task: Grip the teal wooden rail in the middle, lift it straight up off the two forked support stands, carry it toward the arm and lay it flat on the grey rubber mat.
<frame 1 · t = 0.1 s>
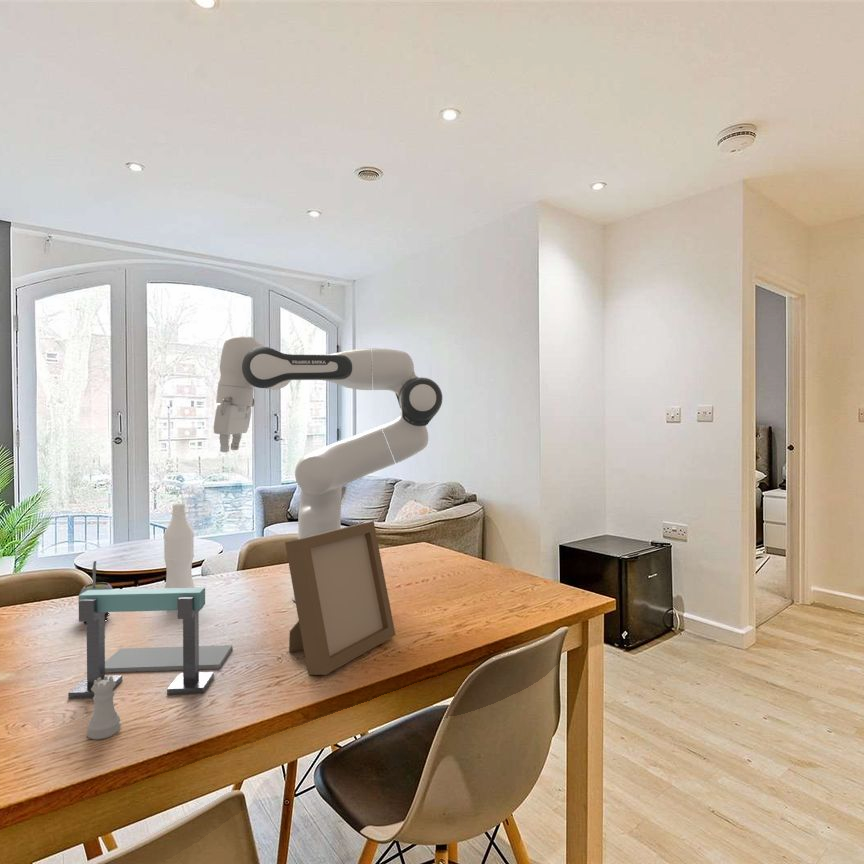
hand: (229, 451, 144), 39 cm above the table, tool pointing down, fingers open, 8 cm apart
water bottle: (179, 600, 144), on the table
rook chess piece: (104, 733, 83), on the table
forked support stand: (144, 687, 97), on the table
photo frame: (335, 651, 113), on the table
mat: (168, 660, 108), on the table
mate gourd: (97, 620, 130), on the table
rail: (143, 608, 97), point 14 cm above the table, touching forked support stand
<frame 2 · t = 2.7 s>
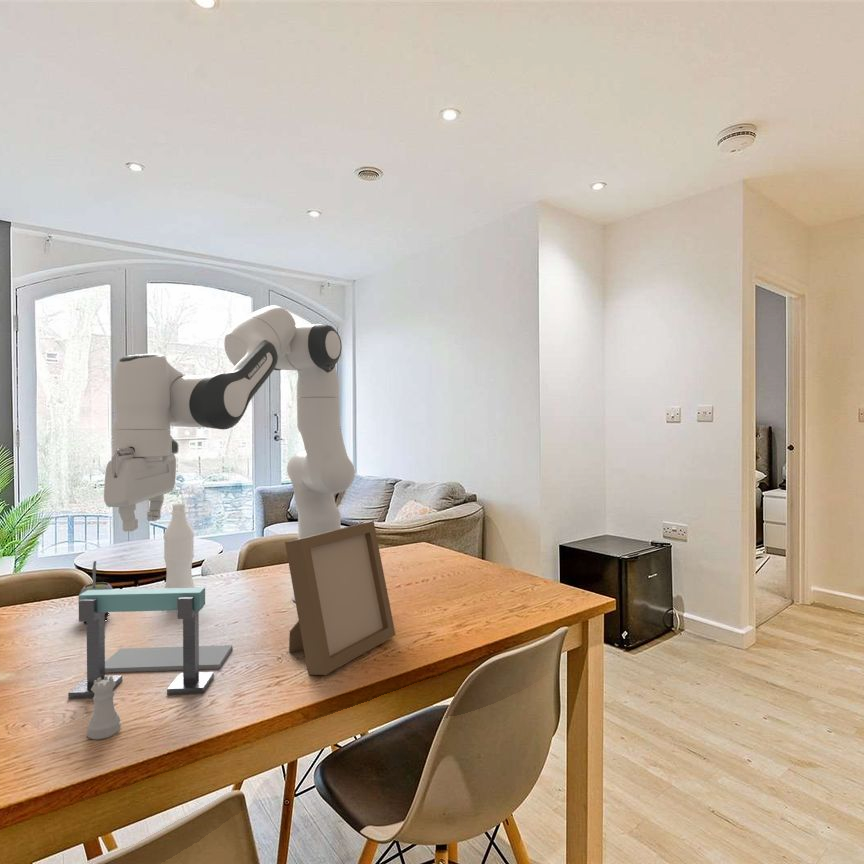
hand: (142, 525, 96), 29 cm above the table, tool pointing down, fingers open, 8 cm apart
nothing on the table moved.
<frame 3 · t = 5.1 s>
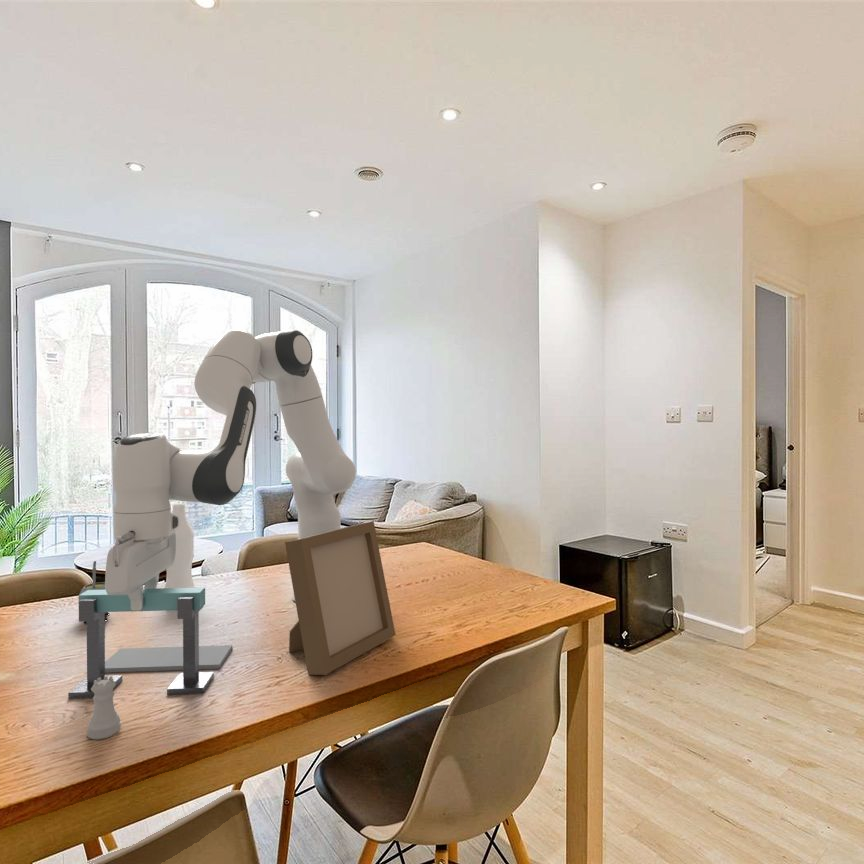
hand: (143, 604, 97), 15 cm above the table, tool pointing down, fingers closed on rail, 3 cm apart
rail: (143, 608, 97), point 14 cm above the table, touching gripper, forked support stand
everything else where it was.
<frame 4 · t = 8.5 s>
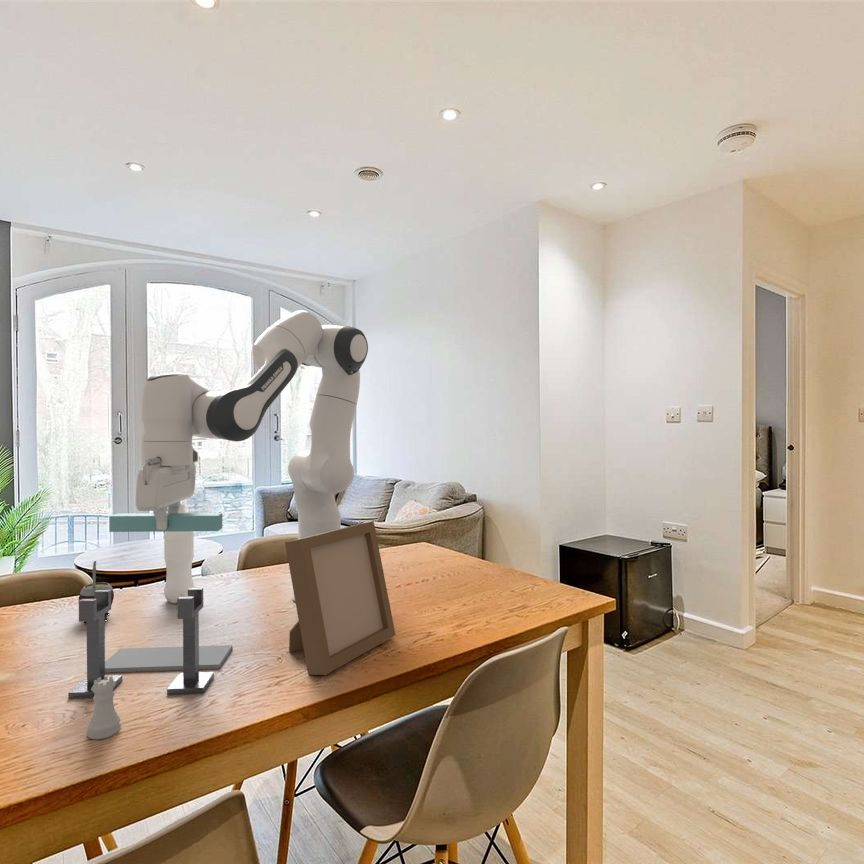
hand: (167, 527, 107), 26 cm above the table, tool pointing down, fingers closed on rail, 3 cm apart
rail: (167, 530, 107), point 26 cm above the table, touching gripper
everything else where it was.
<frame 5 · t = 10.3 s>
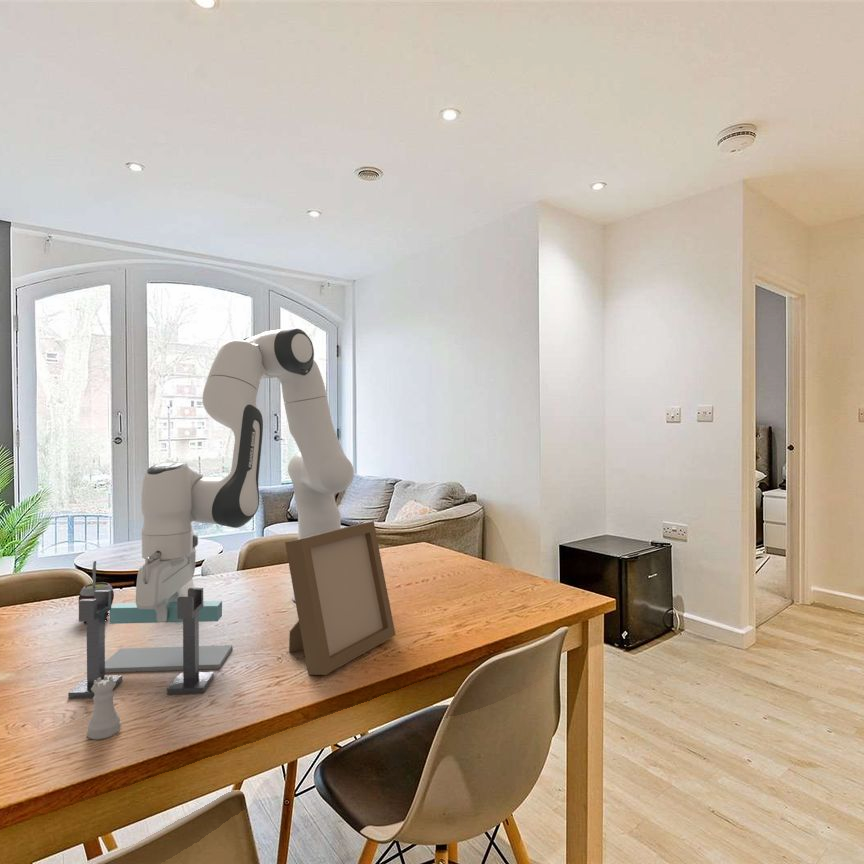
hand: (167, 616, 108), 9 cm above the table, tool pointing down, fingers closed on rail, 3 cm apart
rail: (167, 619, 108), point 8 cm above the table, touching gripper
everything else where it was.
when the fingers open (3 cm above the table, at t = 12.1 s): rail drops 2 cm, resting on mat.
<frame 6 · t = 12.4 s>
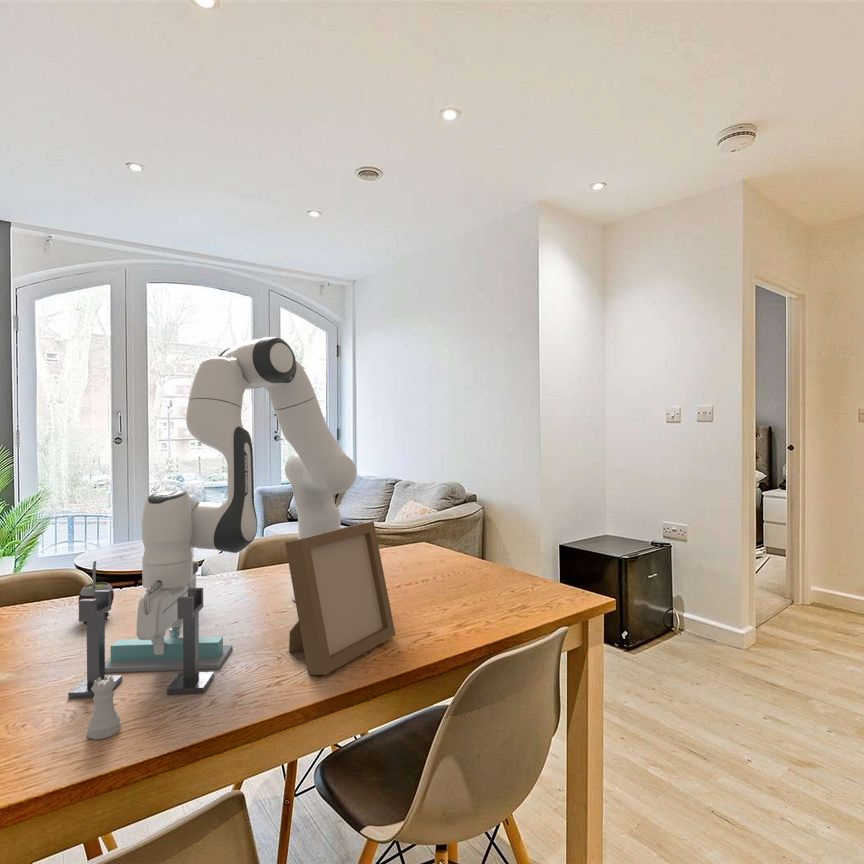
hand: (168, 644, 108), 3 cm above the table, tool pointing down, fingers open, 6 cm apart
rail: (168, 656, 108), point 1 cm above the table, touching mat
everything else where it was.
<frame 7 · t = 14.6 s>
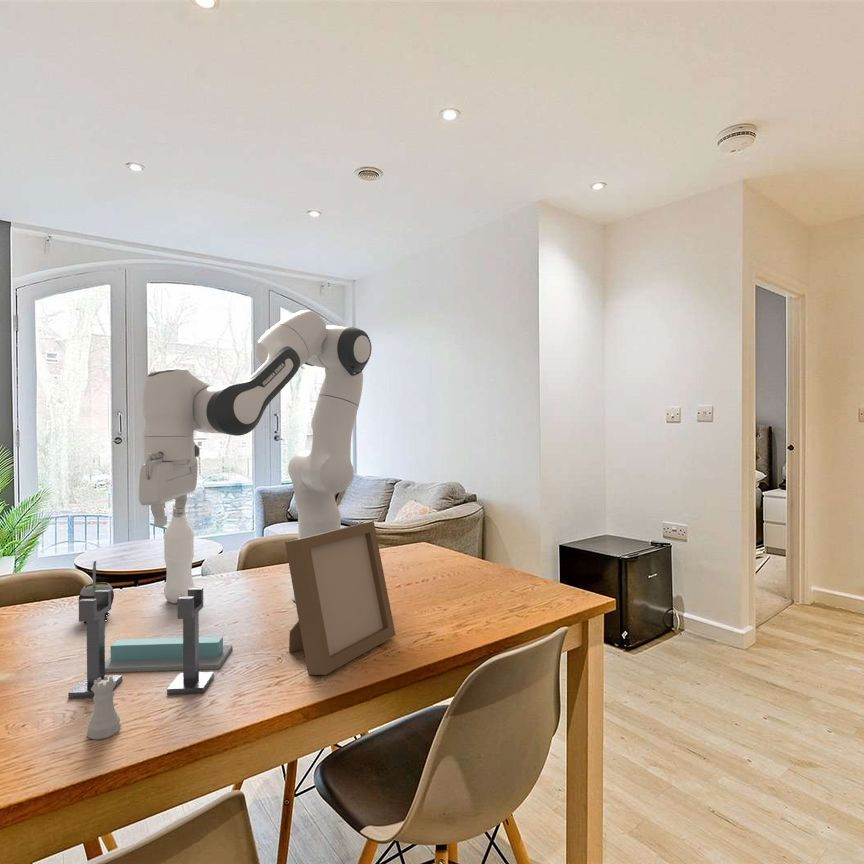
hand: (170, 521, 108), 27 cm above the table, tool pointing down, fingers open, 8 cm apart
nothing on the table moved.
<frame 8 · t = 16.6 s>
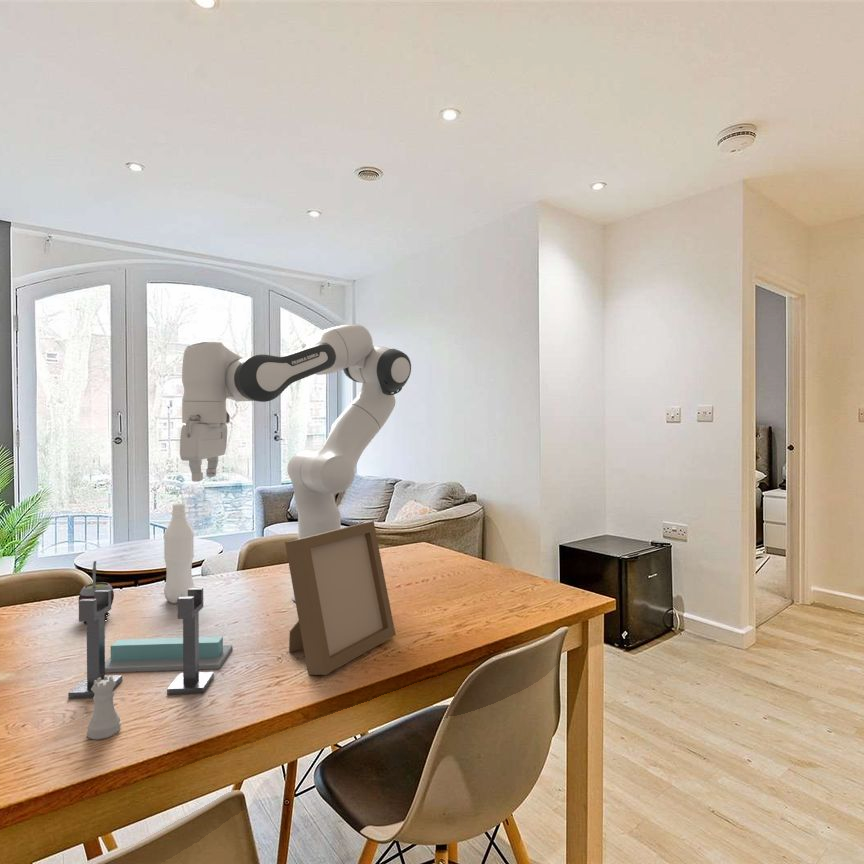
hand: (204, 478, 120), 34 cm above the table, tool pointing down, fingers open, 8 cm apart
nothing on the table moved.
at the end: rail inside the target area (0.1 cm from its centre), point 0.8 cm above the table; rail touching mat; the gripper is holding nothing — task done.
